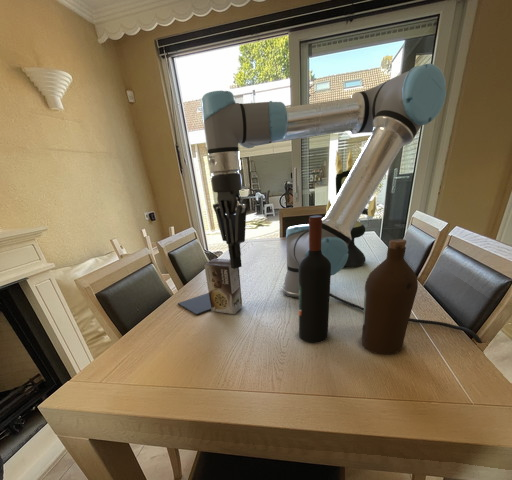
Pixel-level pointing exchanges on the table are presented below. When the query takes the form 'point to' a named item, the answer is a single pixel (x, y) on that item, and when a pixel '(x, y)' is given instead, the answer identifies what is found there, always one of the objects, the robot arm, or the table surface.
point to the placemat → (197, 304)
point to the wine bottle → (314, 288)
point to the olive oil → (388, 301)
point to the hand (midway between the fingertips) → (236, 267)
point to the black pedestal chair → (358, 230)
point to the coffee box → (223, 286)
